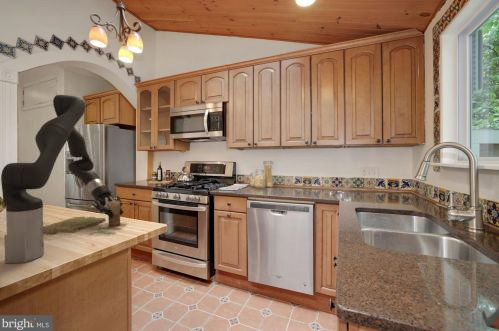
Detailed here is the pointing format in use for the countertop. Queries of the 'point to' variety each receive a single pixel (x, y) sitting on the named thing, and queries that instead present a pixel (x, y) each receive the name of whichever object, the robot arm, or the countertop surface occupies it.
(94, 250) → the countertop surface
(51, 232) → the decorative tile
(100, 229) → the birch board
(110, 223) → the walnut roller
